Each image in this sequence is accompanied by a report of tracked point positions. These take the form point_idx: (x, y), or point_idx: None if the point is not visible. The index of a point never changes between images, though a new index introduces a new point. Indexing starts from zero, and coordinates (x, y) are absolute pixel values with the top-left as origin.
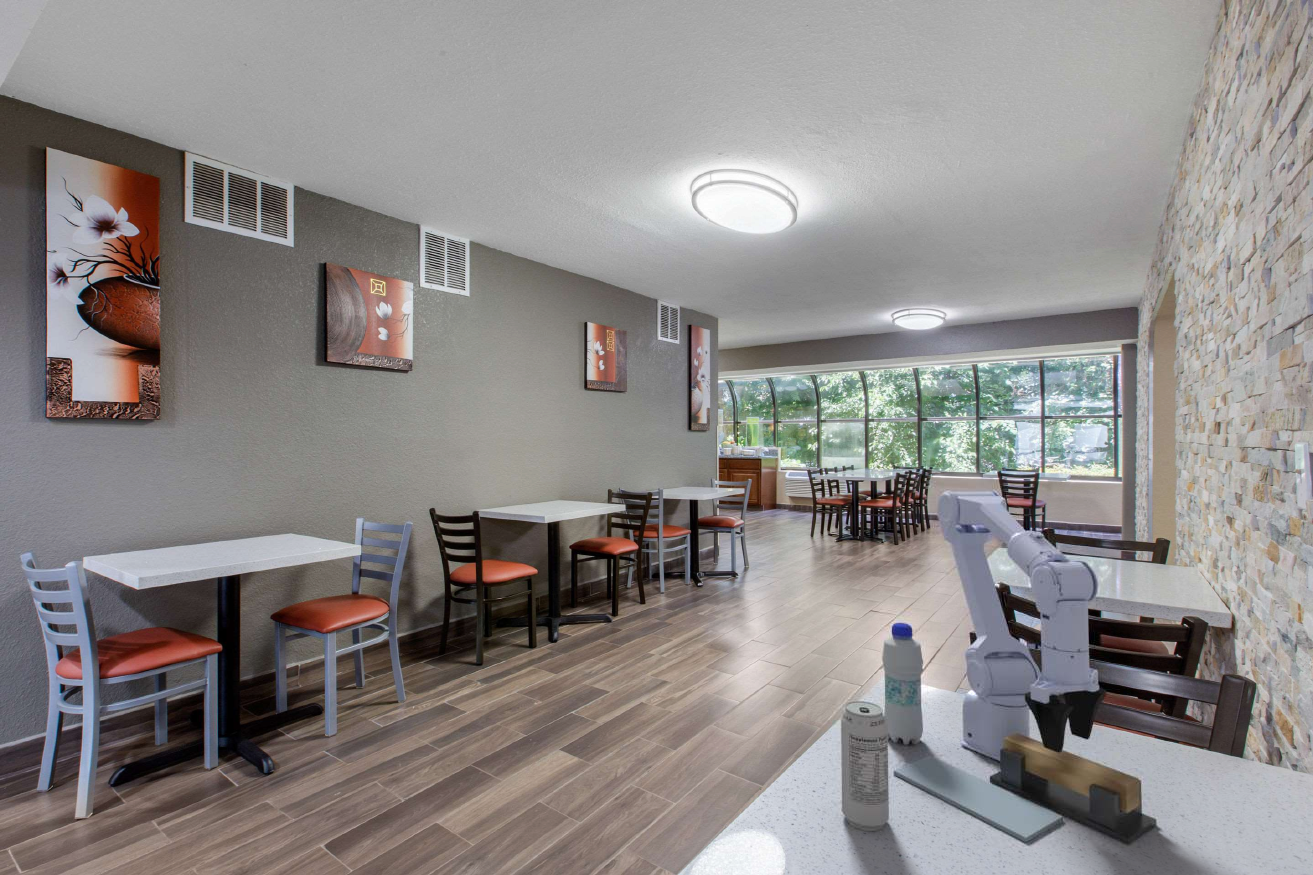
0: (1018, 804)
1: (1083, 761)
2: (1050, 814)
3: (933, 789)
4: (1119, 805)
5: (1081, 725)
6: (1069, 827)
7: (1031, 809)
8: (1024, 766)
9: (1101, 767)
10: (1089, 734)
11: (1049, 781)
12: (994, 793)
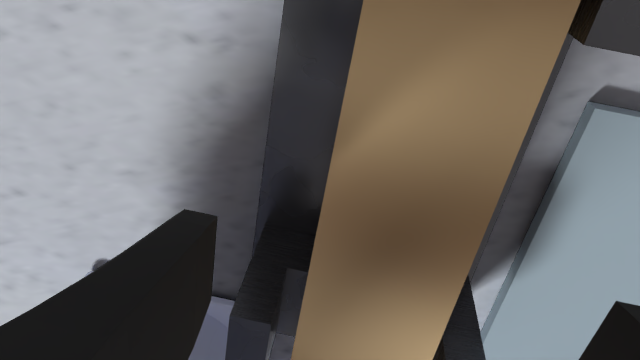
0: (597, 248)
1: (392, 156)
2: (607, 147)
3: None
4: None
5: (174, 314)
6: (632, 67)
7: (608, 207)
8: (447, 323)
9: (407, 49)
10: (185, 226)
11: (313, 211)
12: (557, 318)
